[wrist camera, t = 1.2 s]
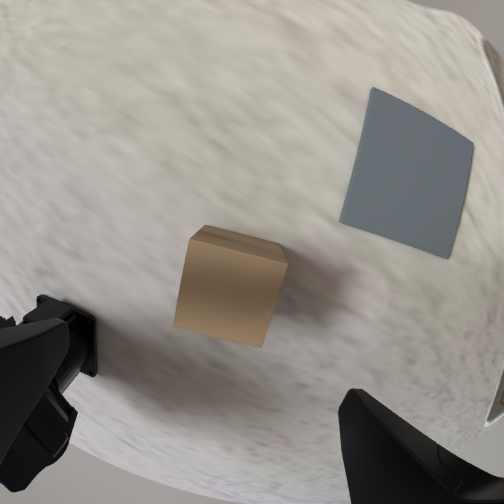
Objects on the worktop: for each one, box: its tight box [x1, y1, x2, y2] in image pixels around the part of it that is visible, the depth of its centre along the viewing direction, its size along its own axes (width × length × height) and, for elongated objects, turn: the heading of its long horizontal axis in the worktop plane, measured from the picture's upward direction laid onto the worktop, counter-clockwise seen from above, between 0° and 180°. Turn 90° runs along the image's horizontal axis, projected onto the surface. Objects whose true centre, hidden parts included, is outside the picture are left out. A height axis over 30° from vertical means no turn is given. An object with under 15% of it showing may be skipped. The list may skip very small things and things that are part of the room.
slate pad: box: [339, 87, 474, 259], centre depth 17 cm, size 10×10×1 cm
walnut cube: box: [173, 225, 288, 348], centre depth 17 cm, size 5×5×5 cm
